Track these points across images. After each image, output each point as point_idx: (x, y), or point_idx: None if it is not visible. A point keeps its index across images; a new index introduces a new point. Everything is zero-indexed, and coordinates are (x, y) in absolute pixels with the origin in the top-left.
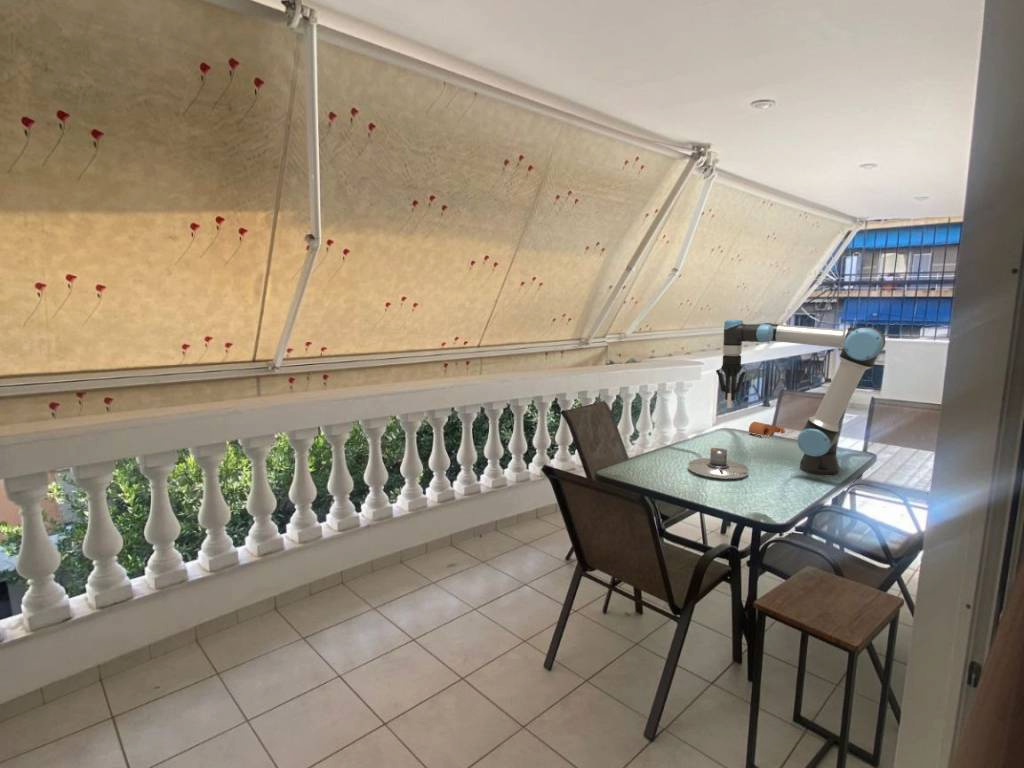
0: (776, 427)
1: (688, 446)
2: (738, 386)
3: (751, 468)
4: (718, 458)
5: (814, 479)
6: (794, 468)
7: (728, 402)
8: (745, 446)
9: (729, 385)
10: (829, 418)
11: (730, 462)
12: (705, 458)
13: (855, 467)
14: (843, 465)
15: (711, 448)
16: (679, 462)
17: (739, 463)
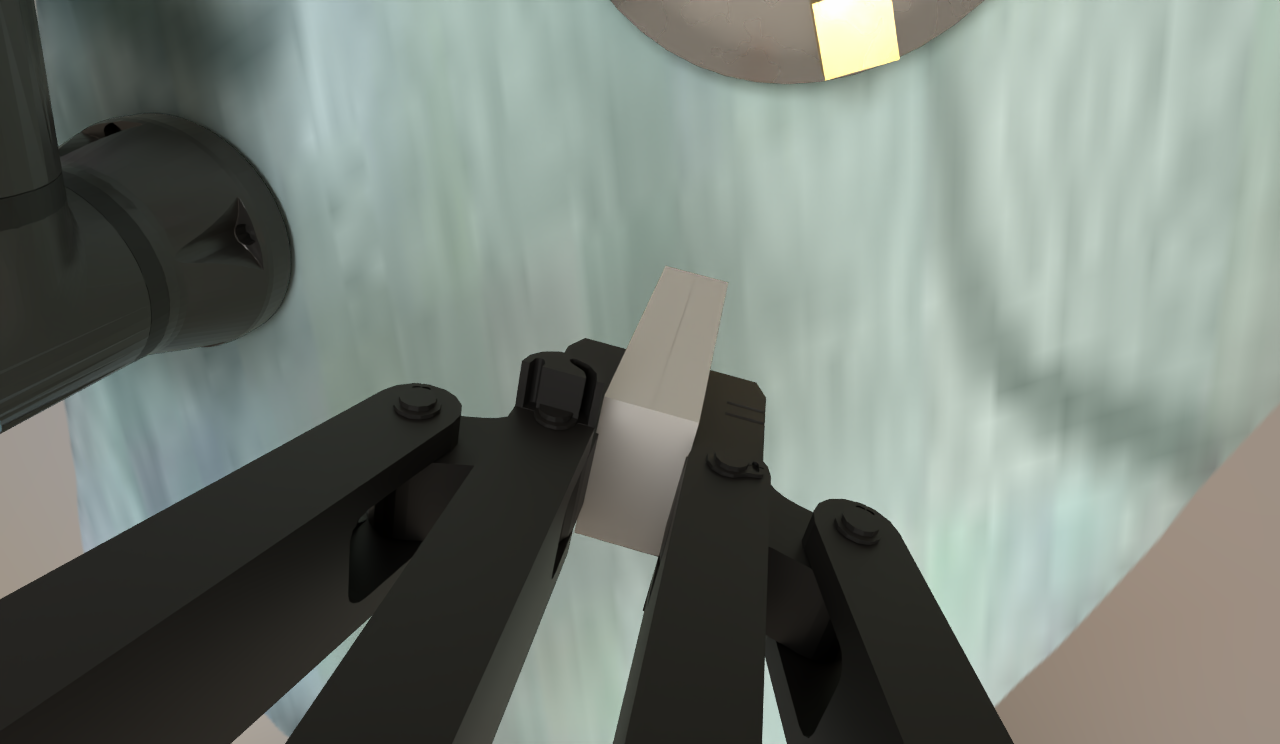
0: None
1: (1048, 532)
2: (281, 484)
3: (561, 109)
4: None
5: (164, 22)
6: (320, 241)
7: (693, 315)
8: None
9: (629, 681)
10: None
11: (703, 1)
12: (932, 36)
13: (80, 395)
14: (133, 411)
15: (893, 31)
16: (1174, 7)
17: (629, 6)
